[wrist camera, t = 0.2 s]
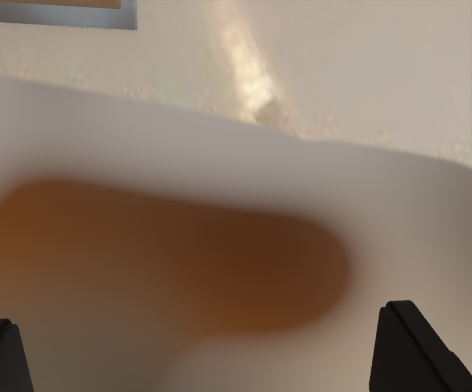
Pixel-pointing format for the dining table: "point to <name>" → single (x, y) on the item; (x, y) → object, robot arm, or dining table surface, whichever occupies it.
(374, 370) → the robot arm
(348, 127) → the dining table surface
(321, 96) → the dining table surface
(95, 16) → the holder
